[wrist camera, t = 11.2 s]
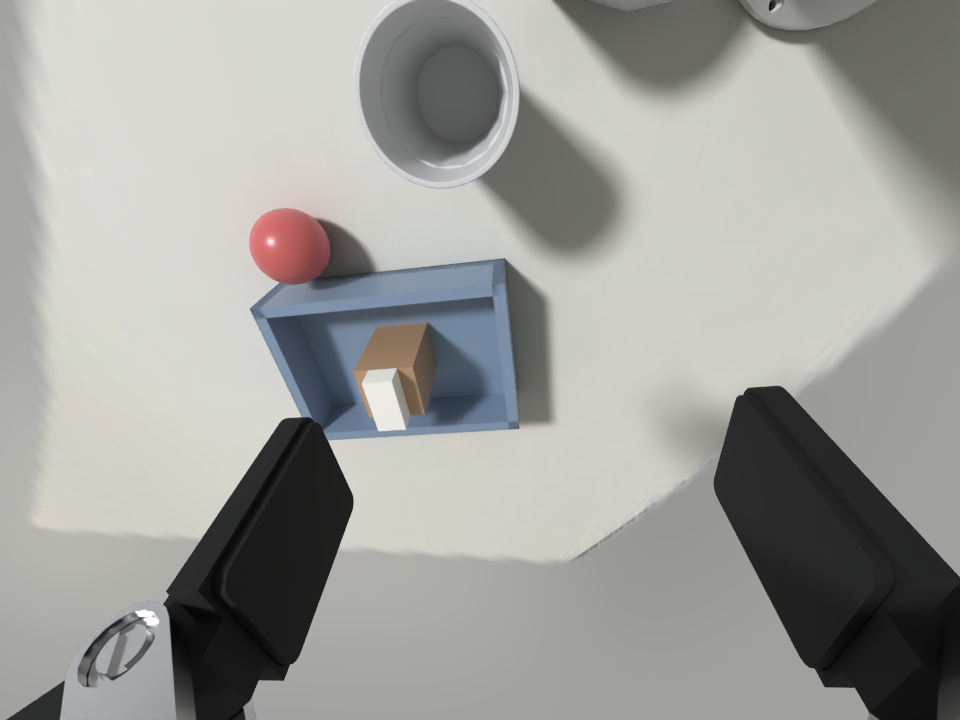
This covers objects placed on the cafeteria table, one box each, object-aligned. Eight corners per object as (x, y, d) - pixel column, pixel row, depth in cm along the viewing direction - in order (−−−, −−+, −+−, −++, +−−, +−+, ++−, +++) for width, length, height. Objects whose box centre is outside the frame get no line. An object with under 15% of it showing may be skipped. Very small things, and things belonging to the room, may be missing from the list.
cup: (498, 169, 32) (496, 204, 22) (398, 142, 31) (348, 166, 21) (528, 44, 28) (541, 19, 18) (412, 10, 27) (358, -37, 17)
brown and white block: (436, 365, 42) (421, 428, 34) (389, 369, 42) (363, 432, 34) (427, 322, 39) (408, 380, 31) (376, 326, 39) (345, 384, 32)
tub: (504, 258, 36) (504, 283, 31) (517, 393, 44) (519, 428, 40) (279, 282, 38) (249, 308, 34) (332, 406, 47) (313, 441, 42)
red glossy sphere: (327, 196, 34) (296, 215, 29) (349, 265, 37) (324, 292, 32) (260, 205, 35) (218, 224, 30) (287, 272, 38) (254, 300, 33)
